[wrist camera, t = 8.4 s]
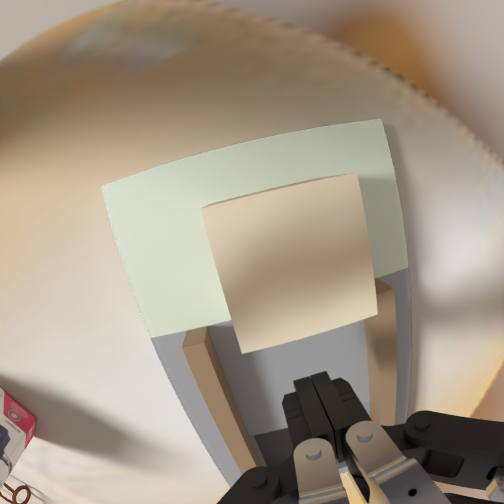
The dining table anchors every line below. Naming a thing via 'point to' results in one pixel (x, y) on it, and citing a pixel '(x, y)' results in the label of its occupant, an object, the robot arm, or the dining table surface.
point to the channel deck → (214, 304)
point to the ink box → (13, 433)
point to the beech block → (293, 260)
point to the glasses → (14, 503)
